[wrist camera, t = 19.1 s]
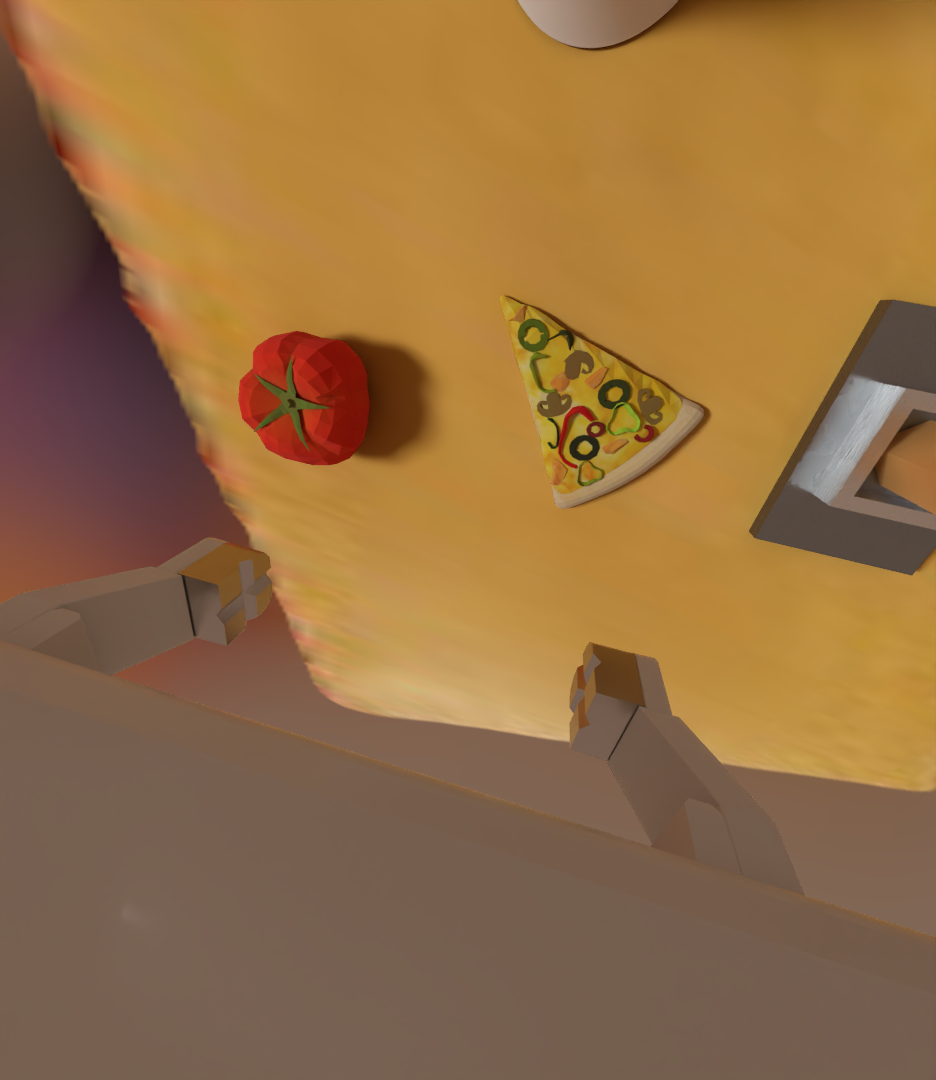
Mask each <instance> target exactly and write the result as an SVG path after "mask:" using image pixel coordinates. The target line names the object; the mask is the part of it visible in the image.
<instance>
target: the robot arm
mask: <svg viewBox="0 0 936 1080" xmlns="http://www.w3.org/2000/svg"><path fill="white" fill-rule="evenodd" d="M518 1H519V3H520V5H521V7H522V8H523V10H524V11H525V12H526V14H527V15H528V17H529V18H530V19H531V20H532V21H533V22H534V23H535V24H536V25H537V26H538V27H539V28H540V29H541V30H542V31H543V32H544V33H546V34H547V35H549V36H550V37H552V38H554V39H555V40H557V41H559V42H562V43H564V44H567V45H571V46H575V47H580V48H599V47H606V46H610V45H614V44H617V43H620V42H623V41H625V40H627V39H630V38H632V37H633V36H635V35H637V34H639V33H641V32H642V31H644V30H645V29H647V28H648V27H650V26H651V25H653V24H654V23H655V22H656V21H658V20H659V19H660V18H661V17H662V16H664V15H665V14H666V13H667V12H668V11H669V10H670V9H671V8H672V7H673V6H674V5H675V4H676V3H677V2H678V1H679V0H518ZM270 568H271V565H270V557H269V556H268V555H267V554H266V553H263V552H260V551H257V550H253V549H250V548H247V547H243V546H240V545H236V544H233V543H228V542H226V541H222V540H219V539H215V538H205V539H204V540H202V541H200V542H199V543H197V544H196V545H194V546H192V547H191V548H189V549H187V550H185V551H184V552H182V553H180V554H179V555H177V556H175V557H174V558H172V559H170V560H169V561H167V562H165V563H164V564H162V565H160V566H159V567H157V568H154V567H145V568H141V569H136V570H131V571H126V572H122V573H117V574H112V575H107V576H103V577H98V578H93V579H89V580H84V581H79V582H74V583H69V584H64V585H59V586H55V587H50V588H45V589H40V590H36V591H31V592H26V593H21V594H19V595H18V596H15V597H13V598H11V599H9V600H8V601H6V602H3V603H2V604H0V1080H936V937H933V936H930V935H927V934H924V933H921V932H917V931H915V930H911V929H908V928H905V927H902V926H899V925H896V924H892V923H889V922H886V921H883V920H880V919H876V918H873V917H870V916H867V915H864V914H861V913H858V912H855V911H851V910H848V909H845V908H842V907H839V906H836V905H833V904H829V903H826V902H823V901H820V900H817V899H814V898H810V897H807V896H805V894H804V892H803V889H802V887H801V885H800V882H799V880H798V878H797V875H796V872H795V870H794V868H793V865H792V862H791V861H790V858H789V855H788V853H787V850H786V848H785V846H784V843H783V840H782V838H781V836H780V833H779V831H778V828H777V826H776V824H775V822H774V821H773V820H772V819H771V818H770V816H769V815H768V814H767V813H766V812H765V811H764V810H763V809H762V808H761V807H760V805H758V803H757V802H756V801H755V800H754V799H753V798H752V797H751V796H750V794H749V793H748V792H747V791H746V790H745V789H744V788H743V787H742V786H741V785H740V784H739V782H738V781H737V780H736V779H735V778H734V777H733V776H732V775H731V774H730V773H729V772H728V770H727V769H726V768H725V767H724V766H723V765H722V764H721V763H720V762H719V761H718V759H717V758H716V757H715V756H714V755H713V754H712V753H711V752H710V751H709V750H708V748H707V747H706V746H705V745H704V744H703V743H702V742H701V741H700V740H699V739H698V737H697V736H696V735H695V734H694V733H693V732H692V731H691V730H690V729H689V728H688V727H687V725H686V724H685V723H684V722H683V721H682V720H681V719H680V718H679V717H676V716H673V715H672V712H671V708H670V705H669V701H668V697H667V694H666V690H665V686H664V682H663V679H662V675H661V671H660V668H659V664H658V661H657V660H656V659H655V658H651V657H647V656H643V655H639V654H635V653H629V652H625V651H621V650H618V649H614V648H610V647H607V646H603V645H599V644H595V643H592V642H589V643H588V645H587V646H586V648H585V651H584V653H583V665H582V666H580V667H578V668H577V670H576V673H575V675H574V678H573V682H572V686H571V691H570V709H571V710H572V712H573V713H574V714H573V717H572V719H571V721H570V749H572V750H575V751H578V752H581V753H584V754H587V755H590V756H593V757H596V758H599V759H602V760H605V761H608V765H609V767H610V769H611V770H612V772H613V774H614V776H615V778H616V780H617V781H618V783H619V785H620V787H621V789H622V790H623V792H624V794H625V796H626V797H627V800H628V801H629V803H630V805H631V807H632V809H633V810H634V812H635V814H636V816H637V818H638V819H639V821H640V823H641V825H642V827H643V829H644V830H645V832H646V834H647V836H648V837H649V839H650V841H651V843H652V845H651V847H650V846H647V845H643V844H641V843H637V842H634V841H631V840H628V839H624V838H622V837H618V836H615V835H612V834H609V833H606V832H603V831H600V830H597V829H593V828H590V827H587V826H584V825H581V824H578V823H575V822H571V821H568V820H565V819H562V818H559V817H556V816H552V815H549V814H546V813H543V812H540V811H537V810H534V809H530V808H527V807H524V806H521V805H518V804H514V803H512V802H509V801H505V800H502V799H499V798H496V797H493V796H490V795H486V794H483V793H480V792H477V791H474V790H471V789H468V788H464V787H461V786H458V785H455V784H452V783H449V782H446V781H442V780H439V779H436V778H433V777H430V776H426V775H423V774H420V773H417V772H414V771H411V770H408V769H404V768H401V767H398V766H395V765H392V764H389V763H386V762H382V761H379V760H376V759H373V758H370V757H367V756H364V755H360V754H357V753H354V752H351V751H348V750H345V749H342V748H338V747H335V746H332V745H329V744H326V743H323V742H320V741H316V740H313V739H310V738H307V737H304V736H301V735H298V734H294V733H291V732H288V731H285V730H282V729H278V728H275V727H272V726H269V725H266V724H263V723H260V722H256V721H254V720H250V719H247V718H244V717H241V716H238V715H235V714H231V713H228V712H225V711H222V710H219V709H216V708H212V707H209V706H206V705H203V704H200V703H197V702H194V701H191V700H187V699H184V698H181V697H178V696H175V695H172V694H168V693H165V692H162V691H159V690H156V689H153V688H149V687H146V686H143V685H140V684H137V683H133V682H131V681H127V680H124V679H121V678H118V677H115V676H112V675H113V674H116V673H118V672H120V671H123V670H124V669H127V668H129V667H132V666H134V665H136V664H138V663H140V662H143V661H145V660H147V659H150V658H152V657H154V656H157V655H159V654H161V653H163V652H166V651H168V650H170V649H173V648H175V647H177V646H179V645H182V644H184V643H186V642H188V641H191V640H193V639H194V637H196V638H199V639H203V640H207V641H211V642H215V643H218V644H222V645H226V646H228V645H229V644H230V643H231V642H232V641H233V640H234V639H235V638H236V637H237V636H238V635H239V634H240V633H241V632H242V631H243V630H244V629H246V621H247V620H250V619H253V618H255V617H258V616H259V615H260V614H261V613H262V612H263V611H264V610H265V608H266V607H267V605H268V603H269V601H270V599H271V594H272V582H271V580H270V579H269V577H268V576H267V574H266V573H267V571H268V570H269V569H270Z"/></svg>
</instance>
